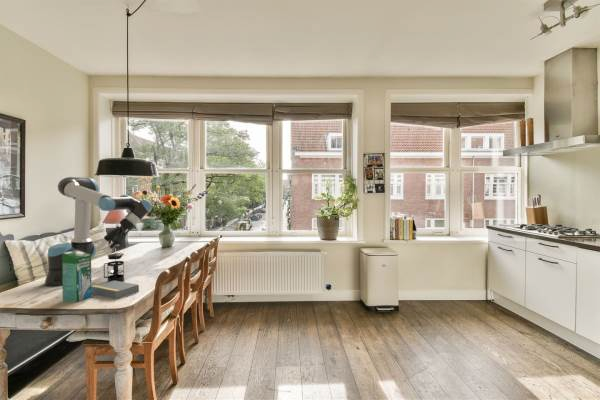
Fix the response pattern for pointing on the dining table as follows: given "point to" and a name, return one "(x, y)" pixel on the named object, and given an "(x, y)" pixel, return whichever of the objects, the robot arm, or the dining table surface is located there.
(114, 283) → the plate
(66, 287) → the milk carton
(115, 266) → the french press
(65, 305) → the dining table surface
